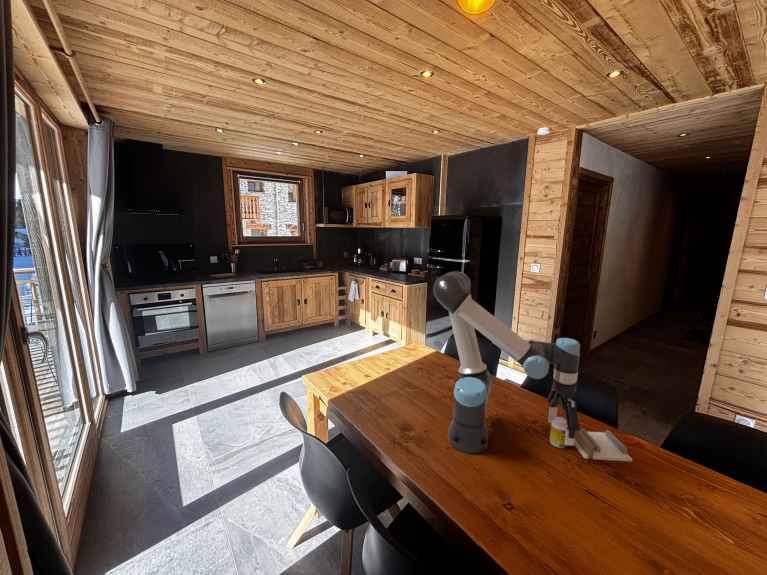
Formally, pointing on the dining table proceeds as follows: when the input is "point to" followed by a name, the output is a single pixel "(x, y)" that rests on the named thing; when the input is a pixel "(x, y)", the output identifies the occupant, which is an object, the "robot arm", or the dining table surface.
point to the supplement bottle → (558, 432)
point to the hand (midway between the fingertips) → (560, 433)
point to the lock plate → (600, 446)
